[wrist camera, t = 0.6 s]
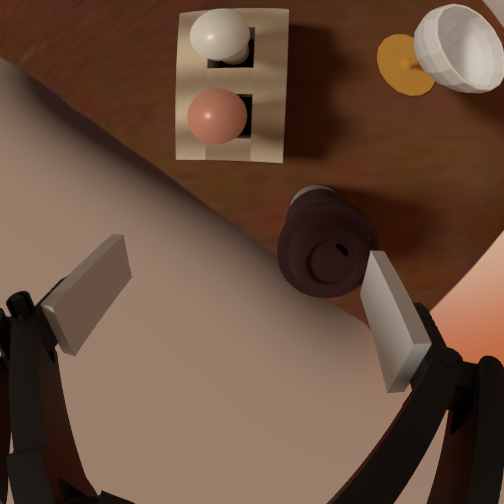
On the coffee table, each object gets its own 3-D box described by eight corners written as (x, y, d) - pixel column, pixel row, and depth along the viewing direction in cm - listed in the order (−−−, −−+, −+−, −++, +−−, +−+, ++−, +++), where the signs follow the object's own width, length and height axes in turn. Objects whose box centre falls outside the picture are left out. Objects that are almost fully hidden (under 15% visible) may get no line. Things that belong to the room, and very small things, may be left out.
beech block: (194, 26, 29) (179, 13, 24) (288, 24, 28) (288, 9, 23) (191, 152, 37) (176, 159, 32) (282, 155, 36) (282, 163, 31)
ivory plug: (212, 32, 26) (191, 11, 19) (257, 31, 26) (249, 7, 19) (210, 71, 29) (188, 60, 21) (256, 71, 28) (247, 58, 21)
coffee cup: (288, 249, 42) (288, 315, 29) (271, 182, 38) (264, 223, 25) (356, 236, 40) (385, 297, 27) (345, 167, 36) (379, 200, 23)
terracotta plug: (209, 94, 30) (187, 89, 23) (255, 94, 29) (246, 88, 22) (209, 137, 32) (187, 144, 25) (253, 138, 32) (244, 145, 24)
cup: (393, 103, 31) (457, 103, 17) (364, 41, 28) (413, 3, 14) (445, 88, 29) (519, 88, 14) (419, 29, 25) (483, 0, 11)
